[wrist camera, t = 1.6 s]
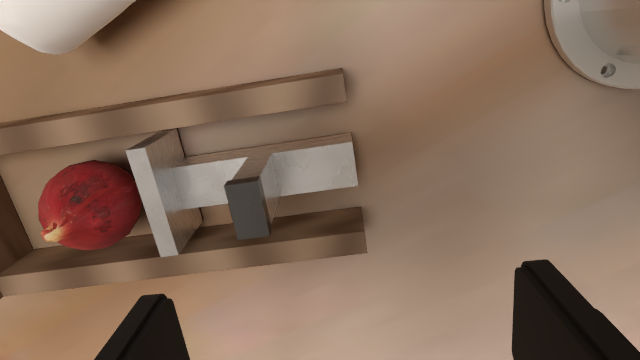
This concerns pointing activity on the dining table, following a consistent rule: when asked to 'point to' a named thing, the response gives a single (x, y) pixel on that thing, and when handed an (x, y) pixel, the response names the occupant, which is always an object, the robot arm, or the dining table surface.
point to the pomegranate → (89, 206)
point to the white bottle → (57, 21)
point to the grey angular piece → (232, 182)
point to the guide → (207, 242)
